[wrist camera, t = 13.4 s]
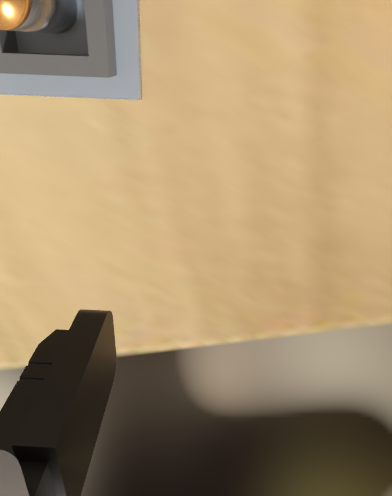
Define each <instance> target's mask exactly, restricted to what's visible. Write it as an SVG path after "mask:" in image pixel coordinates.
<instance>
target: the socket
mask: <svg viewBox="0 0 392 496" xmlns="http://www.w3.org/2000/svg"><path fill="white" fill-rule="evenodd" d="M76 2H77V18H76V21H75V23H74V25H73V26H72V27H71V29H69V30H68V31H66V32H64V33H61V34H52V33H37V32H22V31H7V30H0V94H5V95H29V96H53V97H77V98H101V99H125V100H141V99H142V82H141V51H140V20H139V0H76Z"/></svg>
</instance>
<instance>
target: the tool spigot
mask: <svg viewBox="0 0 392 496" xmlns="http://www.w3.org/2000/svg"><path fill="white" fill-rule="evenodd" d="M76 18H77V2H76V0H0V30H7V31H22V32H37V33H52V34H61V33H64V32H66V31H68V30H69V29H71V27H72V26H73V25H74V23H75V21H76Z"/></svg>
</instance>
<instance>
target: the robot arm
mask: <svg viewBox="0 0 392 496" xmlns="http://www.w3.org/2000/svg"><path fill="white" fill-rule="evenodd" d="M115 372H116V347H115V336H114V325H113V316H112V312H111V311H100V310H79V312H78V313H77V315H76V317H75V319H74V321H73V323H72V325H71V327H70V329H69V330H55V331H54V332H53V333H51V334H50V335H49V336H48V337H47V338H46V339H44V340H43V341H42V342H41V343H40V344H39V345H38V347H37V348H36V350H35V352H34V353H33V355H32V357H31V359H30V360H29V364H28V366H26V367H25V369H24V371H23V373H22V374H21V376H20V380H19V381H17V383H16V385H15V387H14V388H13V390H12V392H11V393H10V395H9V397H8V399H7V400H6V402H5V404H4V406H3V407H2V409H1V411H0V496H81V493H82V489H83V486H84V482H85V479H86V475H87V472H88V468H89V465H90V462H91V458H92V455H93V451H94V448H95V444H96V441H97V437H98V434H99V431H100V427H101V423H102V420H103V416H104V413H105V410H106V406H107V403H108V400H109V396H110V393H111V389H112V386H113V382H114V378H115Z"/></svg>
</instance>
